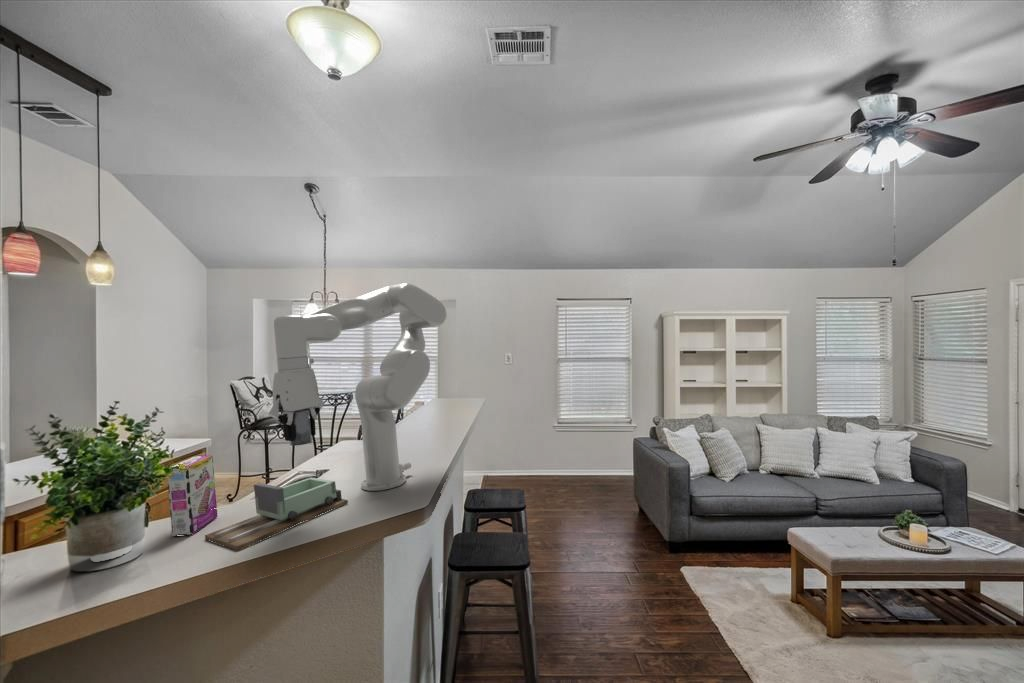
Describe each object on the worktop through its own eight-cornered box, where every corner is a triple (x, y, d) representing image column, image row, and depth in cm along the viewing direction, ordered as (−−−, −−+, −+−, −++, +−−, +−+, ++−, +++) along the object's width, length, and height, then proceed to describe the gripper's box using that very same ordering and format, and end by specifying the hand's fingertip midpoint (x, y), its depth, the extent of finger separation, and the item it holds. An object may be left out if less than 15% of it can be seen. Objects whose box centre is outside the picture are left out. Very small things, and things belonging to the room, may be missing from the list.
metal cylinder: (303, 440, 120) (301, 409, 120) (316, 441, 117) (313, 409, 117) (285, 445, 115) (283, 412, 115) (298, 446, 113) (295, 413, 113)
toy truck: (310, 494, 128) (307, 466, 128) (339, 500, 121) (336, 470, 121) (254, 515, 115) (251, 484, 115) (283, 523, 108) (280, 489, 108)
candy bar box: (194, 535, 109) (187, 466, 109) (171, 538, 109) (164, 468, 109) (219, 516, 121) (213, 453, 120) (199, 519, 120) (192, 455, 120)
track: (315, 497, 130) (313, 485, 130) (347, 503, 122) (346, 490, 122) (205, 539, 106) (203, 524, 106) (237, 551, 99) (236, 535, 99)
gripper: (314, 362, 125) (319, 429, 126) (251, 369, 111) (258, 445, 111) (333, 361, 122) (338, 430, 122) (271, 368, 107) (278, 447, 107)
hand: (300, 437), depth 116 cm, fingers closed on metal cylinder, 5 cm apart
